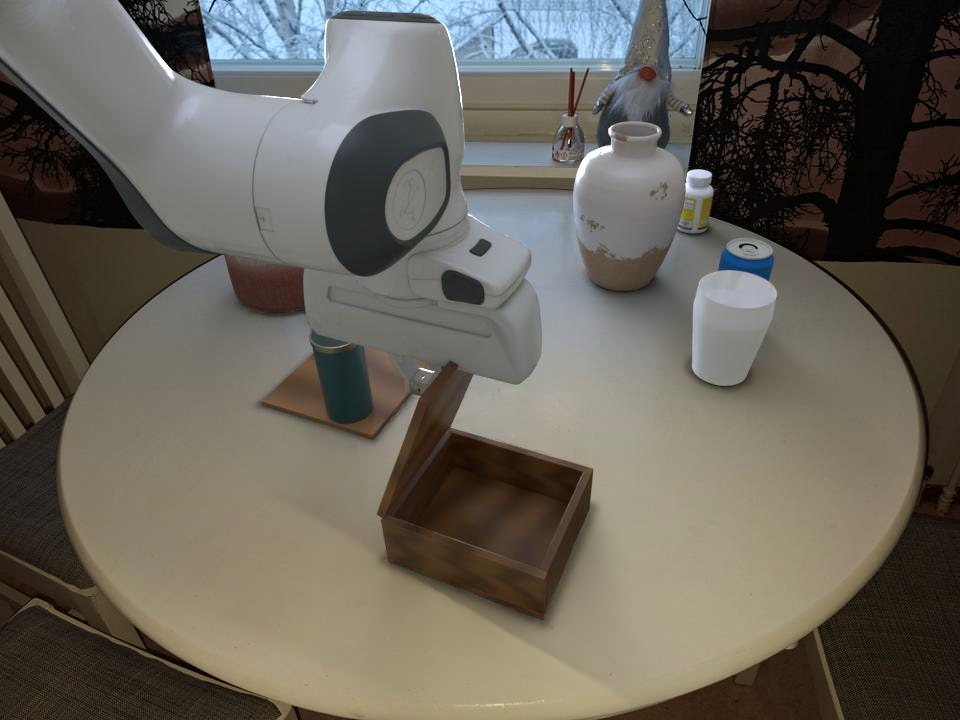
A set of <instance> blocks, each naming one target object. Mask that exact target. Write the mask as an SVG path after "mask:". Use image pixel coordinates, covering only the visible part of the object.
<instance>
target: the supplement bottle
mask: <svg viewBox="0 0 960 720" xmlns="http://www.w3.org/2000/svg"><path fill="white" fill-rule="evenodd" d="M712 178H713V173H712V172H711V171H708V170H707V169H706V170H705V169H691V170H689V171H688V172H687V174H686V177H685V182H686V194H685V202H684V207H683V211H682V214H681V218H680V221H679V224H678V227H677V230H678V231H680V232H683V233H684V234H685V233H686V234H702V233H704V232H705V231H707V229H708V226H709V221H710V215H711V209H712V203H713V198H714V188H713V186H712V185H710V184H711V183H712Z"/></svg>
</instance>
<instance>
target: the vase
mask: <svg viewBox="0 0 960 720" xmlns="http://www.w3.org/2000/svg"><path fill="white" fill-rule="evenodd" d="M662 134H663V131H662V129H661V127H660V126H659V125H656V124H654V123H652V122H651V123H650V122H645V121H634V120H633V121H631V120H630V121H621V122H618V123H615V124H613V125H611V126H610V127H609V128H608V136H609V137H610V144H608V145H605V146H601V147H599V148H597V149H595V150H593V151H591V152H589V153H588V154H587V155H586V156H585V157H584V158H583V160H582V161H581V163H580V165H579V167H578V169H577V172H576V175H575V180H574V183H573V193H572V194H573V195H572V207H573V208H572V209H573V221H574V228H575V234H576V240H577V245H578V250H579V253H580V256H581V259H582V262H583V265H584V268H585V271H586V273H587V275H588V277H589V278H590V280H591V281H592V283H594V284H595V285H597V286H599V287H601V288H604V289H606V290H611V291H617V292H628V291H629V292H631V291H636V290H639V289H642V288H644V287H646V286H648V285H649V284H650V283H651V282H652V280H653V278H654V277H655V276H656V274H657V272H658V271H659V269H660V268H661V266H662V264H663V262H664V261H665V259H666V257H667V255H668V253H669V251H670V250H671V246H672V244H673V241H674V238H675V236H676V233H677V231H678V228H677V227H678V224H679V221H680V218H681V214H682V211H683V207H684V202H685V194H686V183H687V182H686V176H685V170H684V167H683V165H682V163H681V161H680V159H679V158H678V157H677V156H676V155H674V154H673V153H671V152H670V151H668V150H667V149H664V148H661V147H658V141H659V139H661V137H662V136H663V135H662Z"/></svg>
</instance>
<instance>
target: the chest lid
mask: <svg viewBox="0 0 960 720" xmlns="http://www.w3.org/2000/svg"><path fill="white" fill-rule="evenodd" d="M457 368H458V365H457V364H456V363H454V362H452V361H449V362H448V363H447V364H446V366H445V367H444V368H443V369H442V371H441V372H440V373H439V374H438V376H437V377H436V378H435V379H434V380H433V382H432V383H431V384H430V385H429V387H428V388H427V389H426V390H425V391H424V393H423V394H422V395H421V396H419V397H418V400H417V403H416V406H415V408H414V411H413V413H412V416H411V419H410V422H409V424H408V428H407V430H406V432H405V436H404V438H403V441H402V443H401V447H400V449H399V452H398V455H397V457H396V460H395V462H394V466H393V467H392V470H391V474H390V476H389V479H388V481H387V484H386V486H385V490H384V493H383V494H382V495H383V496H382V498H381V500H380V503H379V505H378V509H377V512H376V516H378V517H379V518H381V519H382V518H383V519H384V518H385V517H386V515H387V514H388V512H389V511H390V510H391V508H392V507H393V505H394V504H395V503H396V501H397V500H398V499H399V497H400V496H401V494H402V493H403V492H404V490H405V489H406V487H407V486H408V485H409V483H410V482H411V480H412V479H413V478H414V476H415V475H416V474H417V472H418V471H419V469H420V468H421V467H422V465H423V464H424V462H425V461H426V460H427V458H428V457H429V456H430V454H431V453H432V451H433V450H434V449H435V447H436V446H437V444H438V443H439V442H440V440H441V439H442V437H443V436H444V435H445V433H446V432H447V431H448V429H449V428H450V427H452V425H453V423H454V421H455V418H456V416H457V414H458V411H459V409H460V407H461V404H462V403H463V400H464V397H466V396H465V395H466V393H467V391H468V389H469V387H470V384H471V383H472V380H473V377H474V375H475V374H471V373H467V372H463V371H459V370H457Z"/></svg>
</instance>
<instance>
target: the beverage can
mask: <svg viewBox="0 0 960 720" xmlns="http://www.w3.org/2000/svg"><path fill="white" fill-rule="evenodd" d="M773 251H774V250H773V248H772V246H771V245H770V244H769V243H767V242H765V241H763V240H760V239H757V238H752V237H751V238H750V237H739V238H733V239H731V240H729V241H728V242H727V243H726V245H725V247H724V248H723V250H722V251H721V254H720V260H719V262H718V263H719V264H718V268H717V271H724V270H733V271H742V272H747V273H751V274H754V275H757V276H760V277H762V278H764V279H766V280H767V281H769V282H770V279H771V276H772V271H773V268H774V267H773V266H774V263H775V257H774V254H773Z"/></svg>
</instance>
